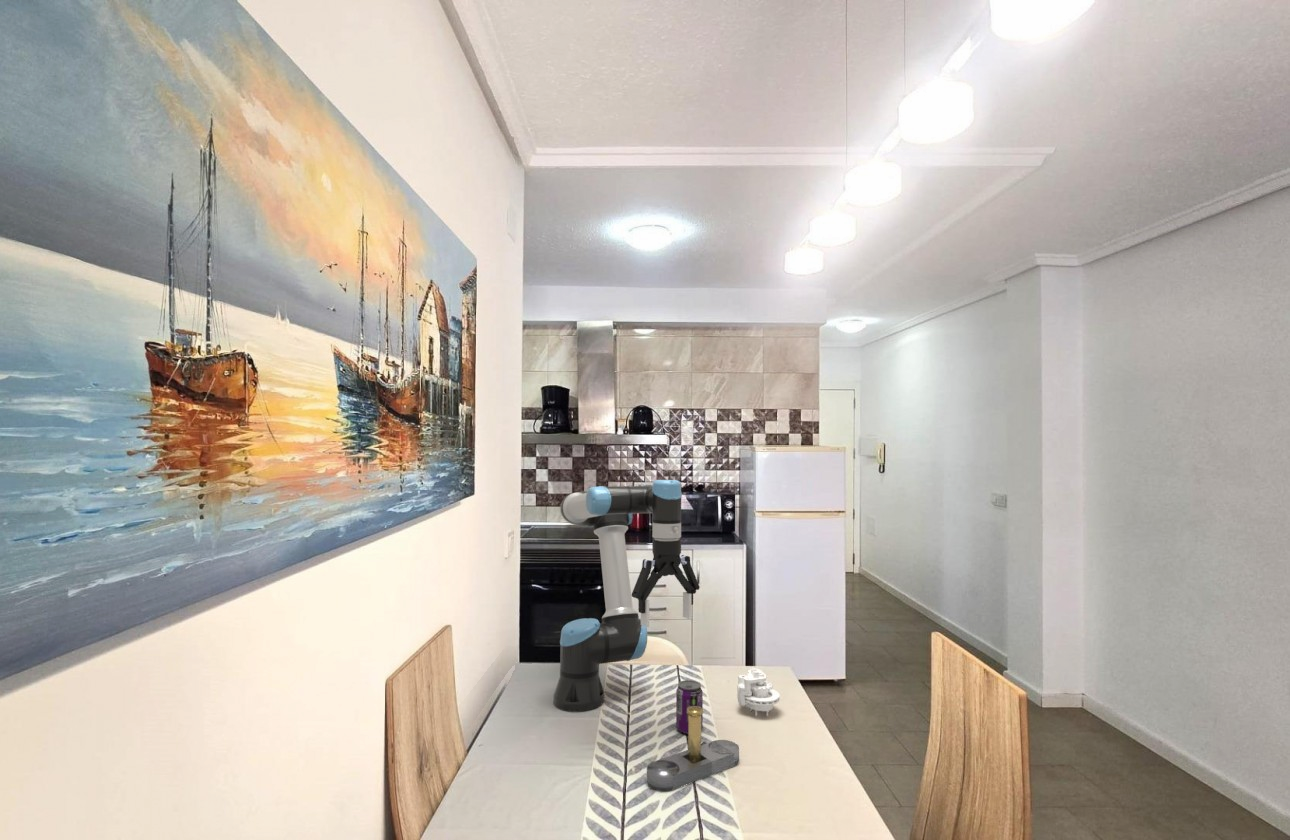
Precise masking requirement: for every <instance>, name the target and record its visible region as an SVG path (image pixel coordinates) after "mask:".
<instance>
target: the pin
mask: <svg viewBox="0 0 1290 840" xmlns="http://www.w3.org/2000/svg"><path fill="white" fill-rule="evenodd" d="M687 714H688V734H687V739H688V741H687V742H688V743H687V744H688V745H687V747H688V749H687V750H688V761H690V762H691V763H693V764H694V763H697V762H699V761H701V744H702V730H701V715H702V714H704V708H703V709H702V708H701V707H698V706H690V707H688V708H687Z"/></svg>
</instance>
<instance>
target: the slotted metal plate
mask: <svg viewBox="0 0 1290 840" xmlns="http://www.w3.org/2000/svg"><path fill="white" fill-rule="evenodd" d="M739 763H740V746H739V745H738V744H737V743H736V742H733V741H730V740H727V739H715V740H712V741H709V742H706V744H703V745H701V761H699V762H697V763H694V764H693V763H691V762H690V761H688V749H687V750H683V751H681V752H677V753H674V754H672V755H669V756H666V757H663V758H660V759H658V760H655V761H651V762H649V764H648V765H647V766H646V785H647V786H648V787H649V788H650V789H652V790H654V791H656V792H662V793H663V792H665V793H666V792H671V791H674V790H676V789H680V788H682V787H685V786H687V785H690V784H692V783H695V782H697V780H698V781H700V780H702V779H701V778H703V779H705V778H707V776H708V777H710V776H712V775H716V774H718V773H720V772H723V771H725V770H728V769H731V768H734V767H736V766H737V765H738V764H739ZM715 773H716V774H715ZM699 779H700V780H699ZM694 781H695V782H694ZM689 783H690V784H689ZM686 784H687V785H686ZM684 785H685V786H684ZM681 786H682V787H681Z"/></svg>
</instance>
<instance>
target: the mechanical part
mask: <svg viewBox="0 0 1290 840" xmlns="http://www.w3.org/2000/svg"><path fill="white" fill-rule="evenodd" d="M737 678H738V679H737V681H738V682H737V683H738V684H737V694H736V695H737V697H736V698H737V703H738V704H739V707H748V708H749V712H753V710H754V715H755V717H757V716H758V712H766V713H765V714H766V715H765V716H766V717H769V712H770V711H771V710H773V709H774V705H776V704H778V703H779V702H780V693H779V692H778V691H776V690H775V689H773V688H774V687H773V686H774V685H773V684H772V682H769V681H767V675H766V673H764V672H763V671H762V670H761V669H759V668H755V667H754V668H750V669H748V671H747V675H746V674H741V675H740V674H739V675H738V677H737Z"/></svg>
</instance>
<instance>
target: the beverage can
mask: <svg viewBox="0 0 1290 840" xmlns="http://www.w3.org/2000/svg"><path fill="white" fill-rule="evenodd" d="M701 686H702V685H701V683H700V682H699V681H696V680H691V679H690V680H688V679H687V680H681V681H679V682H678V683H677V688H676V692H675V694H676V695H675V696H676V698H675V699H676V700H675V701H676V703H675V704H676V707H675V711H676V713H675V715H676V716H675V717H676V720H675V728H676V729H677V731H679V732H681V733H682V732H683V733H682V734H685V733H686V734H685V735H688V714H687V708H688V707H690V706H698V707H701V708H702V709H703V710H704V706H703V702H704V701H703V697H704V696H703V690H702V687H701ZM703 714H704V713H703ZM703 714H702V715H701V731H702V730H703V727H704V724H703V722H704V721H703V719H704V718H703Z"/></svg>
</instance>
